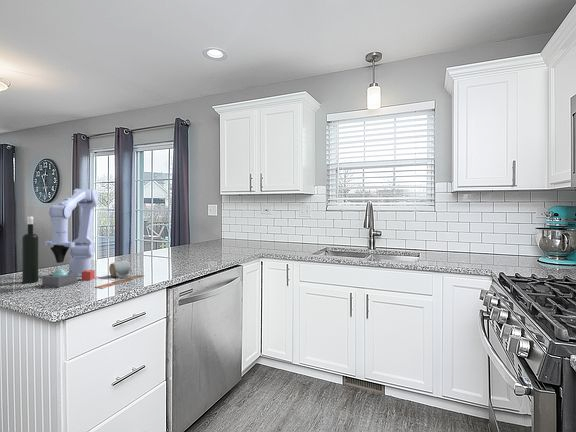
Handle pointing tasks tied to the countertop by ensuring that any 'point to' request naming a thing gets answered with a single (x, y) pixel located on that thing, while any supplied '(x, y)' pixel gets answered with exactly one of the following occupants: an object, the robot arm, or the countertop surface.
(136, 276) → the tile track
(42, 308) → the countertop surface
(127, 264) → the ceramic mug
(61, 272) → the dome
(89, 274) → the die
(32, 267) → the wine bottle
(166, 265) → the countertop surface
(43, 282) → the dome housing
